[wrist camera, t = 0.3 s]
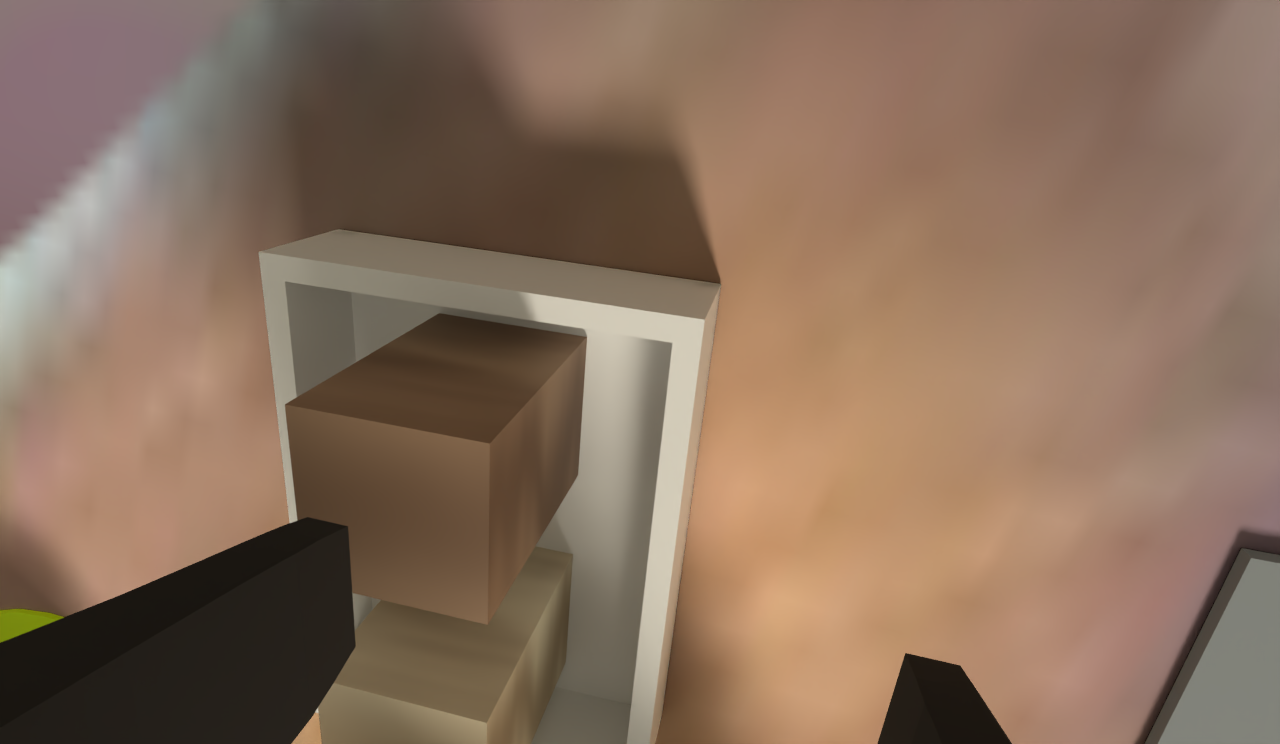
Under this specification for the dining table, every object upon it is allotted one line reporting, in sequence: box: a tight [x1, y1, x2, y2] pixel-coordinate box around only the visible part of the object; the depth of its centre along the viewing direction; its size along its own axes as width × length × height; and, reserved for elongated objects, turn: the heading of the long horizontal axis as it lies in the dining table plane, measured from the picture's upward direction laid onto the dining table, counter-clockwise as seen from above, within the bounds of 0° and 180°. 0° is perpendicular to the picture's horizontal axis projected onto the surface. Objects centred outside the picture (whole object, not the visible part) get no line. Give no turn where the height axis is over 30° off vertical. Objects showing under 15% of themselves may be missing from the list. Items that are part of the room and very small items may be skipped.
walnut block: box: [285, 313, 587, 625], centre depth 16 cm, size 4×4×6 cm
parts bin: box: [259, 229, 721, 744], centre depth 19 cm, size 14×10×3 cm
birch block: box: [318, 546, 573, 744], centre depth 19 cm, size 4×4×6 cm
